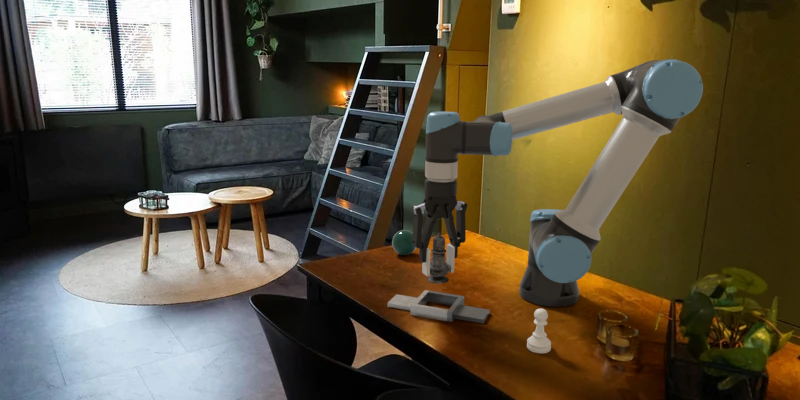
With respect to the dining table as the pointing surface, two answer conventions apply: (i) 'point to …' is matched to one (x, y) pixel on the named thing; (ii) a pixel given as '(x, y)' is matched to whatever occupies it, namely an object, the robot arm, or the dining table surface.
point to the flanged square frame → (436, 313)
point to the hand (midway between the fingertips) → (438, 272)
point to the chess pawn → (539, 334)
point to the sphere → (403, 242)
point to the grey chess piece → (438, 261)
